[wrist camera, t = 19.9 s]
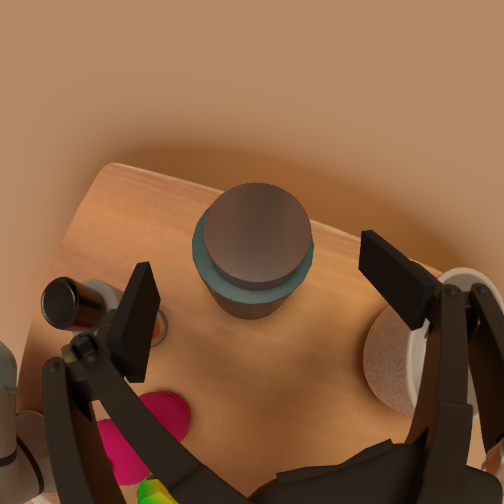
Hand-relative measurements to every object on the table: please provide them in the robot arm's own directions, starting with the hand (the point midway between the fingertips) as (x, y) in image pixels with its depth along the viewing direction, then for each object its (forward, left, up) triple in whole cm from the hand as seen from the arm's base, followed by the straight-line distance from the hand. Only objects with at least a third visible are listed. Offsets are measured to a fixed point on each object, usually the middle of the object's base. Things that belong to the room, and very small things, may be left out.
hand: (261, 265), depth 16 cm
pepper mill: (-8, -16, -20) cm, 27 cm away
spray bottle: (-13, -5, -20) cm, 25 cm away
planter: (+22, -3, -20) cm, 30 cm away
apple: (-6, -28, -20) cm, 35 cm away
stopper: (-1, +4, -11) cm, 11 cm away
